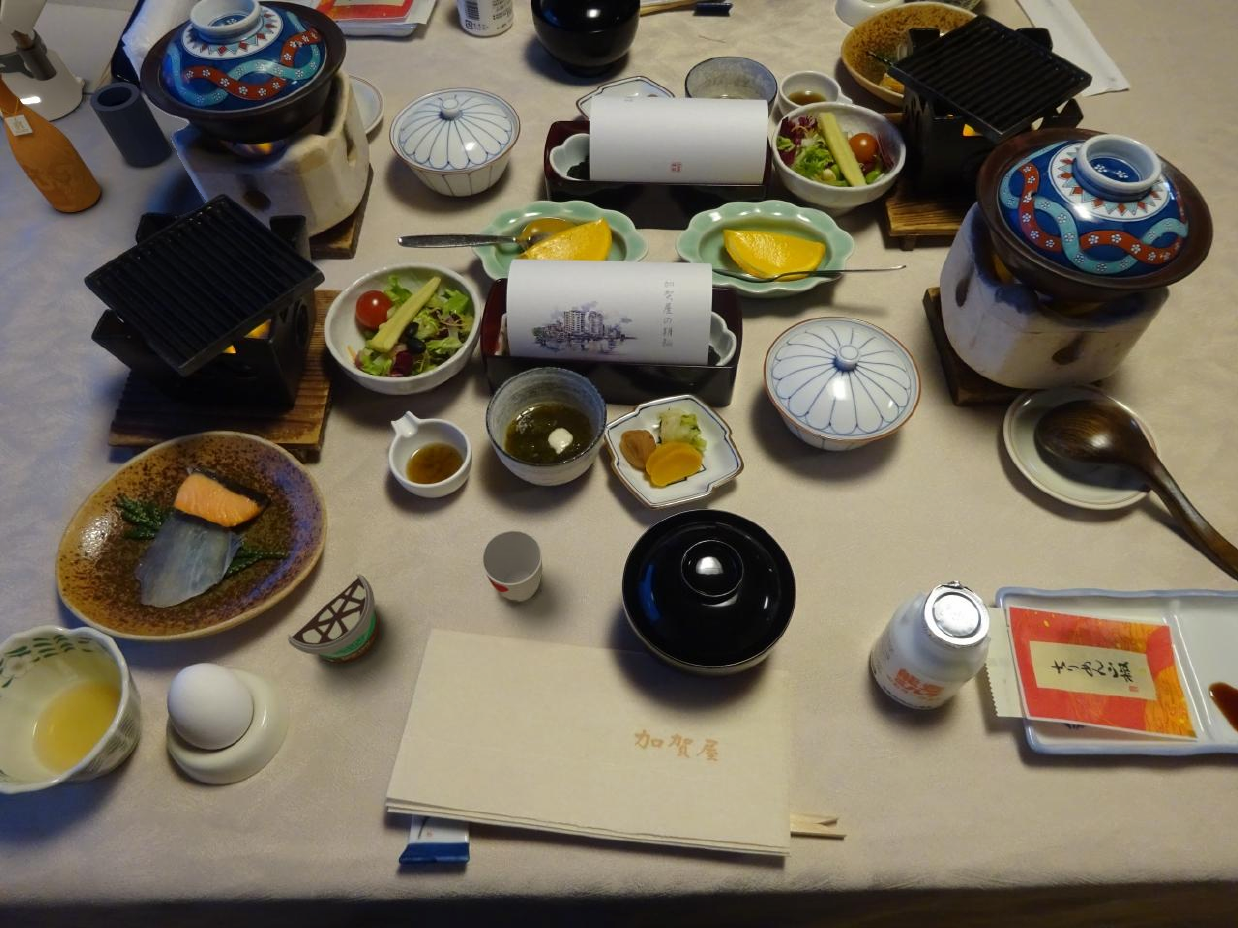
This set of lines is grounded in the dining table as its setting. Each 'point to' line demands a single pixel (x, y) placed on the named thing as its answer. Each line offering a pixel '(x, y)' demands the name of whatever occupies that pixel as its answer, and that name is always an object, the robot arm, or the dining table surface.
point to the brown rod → (33, 56)
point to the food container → (342, 626)
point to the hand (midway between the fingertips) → (6, 23)
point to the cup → (513, 564)
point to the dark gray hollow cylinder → (130, 124)
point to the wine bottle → (47, 156)
